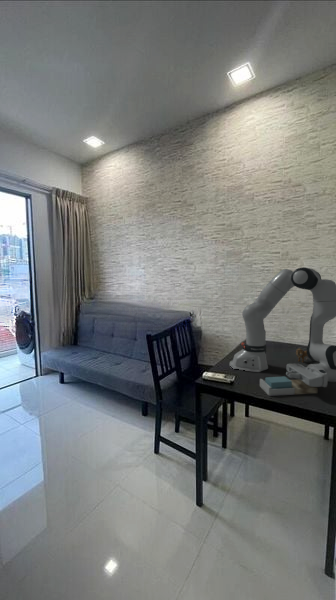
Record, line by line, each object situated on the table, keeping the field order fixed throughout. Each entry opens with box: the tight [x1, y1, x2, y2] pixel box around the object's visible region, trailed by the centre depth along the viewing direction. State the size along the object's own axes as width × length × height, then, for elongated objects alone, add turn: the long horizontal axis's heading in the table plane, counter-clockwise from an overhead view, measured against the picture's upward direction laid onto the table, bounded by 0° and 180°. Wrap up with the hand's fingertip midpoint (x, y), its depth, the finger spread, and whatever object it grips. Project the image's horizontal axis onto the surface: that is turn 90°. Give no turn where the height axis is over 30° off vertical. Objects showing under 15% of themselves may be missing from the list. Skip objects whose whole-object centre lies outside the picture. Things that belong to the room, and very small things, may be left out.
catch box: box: [259, 378, 296, 397], centre depth 122 cm, size 12×10×4 cm
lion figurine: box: [295, 348, 310, 363], centre depth 160 cm, size 15×5×9 cm, turn 116°
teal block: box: [264, 375, 292, 389], centre depth 122 cm, size 5×6×10 cm
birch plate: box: [290, 379, 319, 395], centre depth 123 cm, size 11×10×2 cm
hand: (287, 374), depth 122 cm, fingers closed
